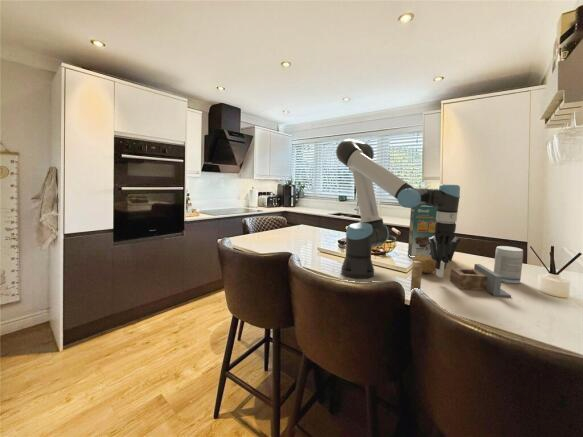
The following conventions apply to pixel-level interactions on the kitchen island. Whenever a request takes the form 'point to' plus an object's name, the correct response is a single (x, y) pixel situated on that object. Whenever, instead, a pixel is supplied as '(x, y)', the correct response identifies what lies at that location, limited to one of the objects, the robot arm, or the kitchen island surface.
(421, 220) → the cake mix box
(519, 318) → the kitchen island surface
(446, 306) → the kitchen island surface
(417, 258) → the potato
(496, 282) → the bracket
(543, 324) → the kitchen island surface
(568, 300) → the kitchen island surface
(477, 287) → the block
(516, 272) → the supplement tub
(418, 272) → the dowel
